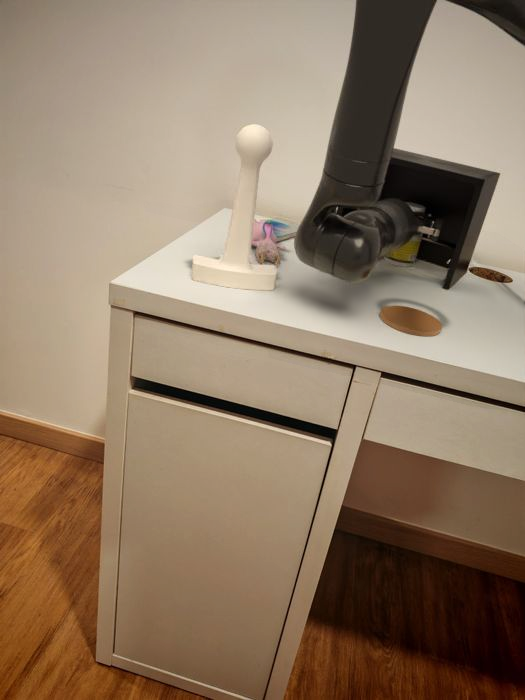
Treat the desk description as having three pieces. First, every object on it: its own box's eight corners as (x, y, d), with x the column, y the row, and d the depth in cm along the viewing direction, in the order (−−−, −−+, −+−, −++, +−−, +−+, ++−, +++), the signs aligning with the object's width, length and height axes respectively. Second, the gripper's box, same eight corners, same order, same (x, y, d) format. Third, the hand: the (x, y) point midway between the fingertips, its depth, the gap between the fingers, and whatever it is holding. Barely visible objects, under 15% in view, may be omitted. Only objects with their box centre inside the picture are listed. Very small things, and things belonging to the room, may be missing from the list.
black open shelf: (448, 290, 91) (485, 179, 83) (322, 249, 99) (345, 145, 92) (466, 272, 101) (500, 173, 94) (351, 237, 110) (373, 143, 102)
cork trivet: (428, 313, 80) (430, 309, 80) (450, 339, 73) (451, 335, 73) (372, 306, 79) (374, 302, 79) (389, 332, 72) (390, 327, 72)
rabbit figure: (287, 276, 88) (272, 231, 100) (296, 240, 84) (279, 198, 96) (246, 272, 87) (236, 227, 98) (254, 235, 83) (242, 193, 95)
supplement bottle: (379, 254, 102) (395, 198, 98) (410, 260, 102) (426, 204, 98) (384, 264, 97) (401, 205, 93) (416, 269, 97) (434, 211, 93)
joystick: (190, 282, 75) (210, 118, 67) (192, 263, 82) (210, 111, 73) (275, 293, 77) (305, 134, 68) (269, 273, 84) (296, 126, 75)
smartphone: (311, 228, 107) (267, 240, 95) (310, 233, 107) (266, 245, 95) (278, 217, 110) (232, 227, 98) (277, 221, 110) (231, 232, 98)
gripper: (437, 215, 80) (464, 202, 94) (342, 189, 86) (381, 181, 99) (422, 267, 83) (450, 247, 97) (331, 239, 89) (370, 224, 103)
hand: (415, 213), depth 98 cm, fingers closed on supplement bottle, 5 cm apart
